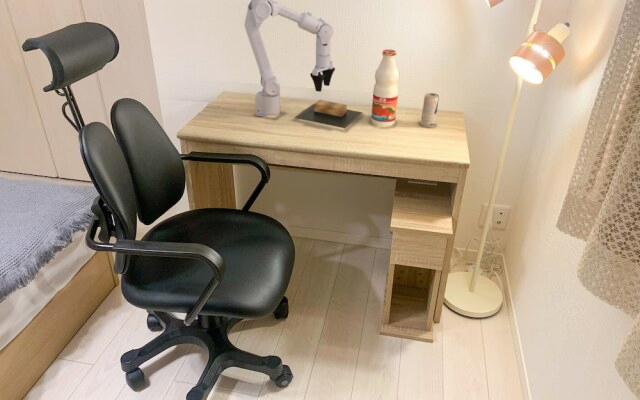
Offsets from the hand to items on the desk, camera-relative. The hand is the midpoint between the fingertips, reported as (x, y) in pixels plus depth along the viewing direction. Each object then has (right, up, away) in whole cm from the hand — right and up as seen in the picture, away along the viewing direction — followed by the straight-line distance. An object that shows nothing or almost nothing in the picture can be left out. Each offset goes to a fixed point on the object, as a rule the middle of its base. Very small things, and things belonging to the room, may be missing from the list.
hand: (322, 88), depth 193 cm
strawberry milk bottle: (+24, -15, -6) cm, 29 cm away
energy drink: (+41, -16, -6) cm, 44 cm away
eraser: (+3, -11, -2) cm, 11 cm away
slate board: (+3, -12, -2) cm, 13 cm away
